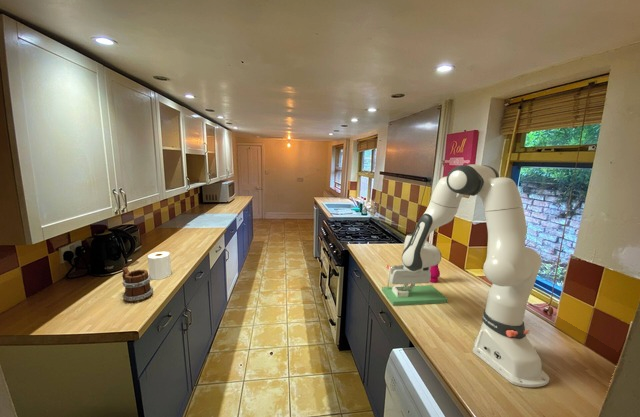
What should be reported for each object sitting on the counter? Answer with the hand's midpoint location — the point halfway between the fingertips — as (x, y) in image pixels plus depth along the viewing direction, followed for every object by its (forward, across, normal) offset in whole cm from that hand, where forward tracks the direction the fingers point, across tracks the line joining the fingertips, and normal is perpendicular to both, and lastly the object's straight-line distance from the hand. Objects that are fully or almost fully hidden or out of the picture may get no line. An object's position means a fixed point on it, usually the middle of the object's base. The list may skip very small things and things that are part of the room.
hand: (408, 291), depth 130 cm
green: (+3, +3, 0) cm, 4 cm away
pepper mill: (+3, +23, +16) cm, 28 cm away
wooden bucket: (+4, -131, +11) cm, 131 cm away
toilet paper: (+4, -129, +33) cm, 133 cm away
